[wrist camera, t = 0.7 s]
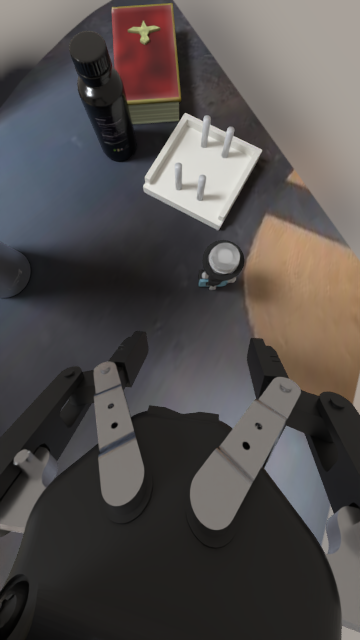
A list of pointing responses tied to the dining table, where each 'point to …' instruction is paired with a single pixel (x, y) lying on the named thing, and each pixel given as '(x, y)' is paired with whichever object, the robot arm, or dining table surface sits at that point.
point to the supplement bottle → (103, 95)
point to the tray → (201, 170)
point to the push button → (221, 264)
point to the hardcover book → (147, 61)
